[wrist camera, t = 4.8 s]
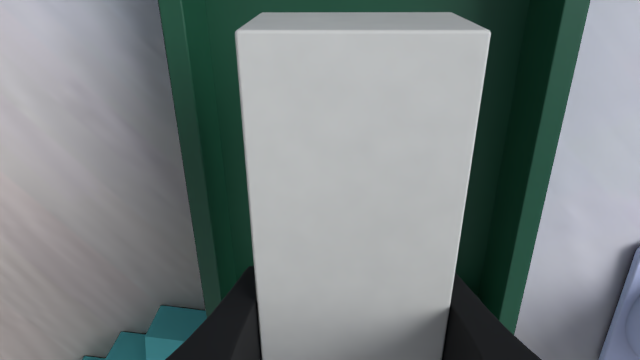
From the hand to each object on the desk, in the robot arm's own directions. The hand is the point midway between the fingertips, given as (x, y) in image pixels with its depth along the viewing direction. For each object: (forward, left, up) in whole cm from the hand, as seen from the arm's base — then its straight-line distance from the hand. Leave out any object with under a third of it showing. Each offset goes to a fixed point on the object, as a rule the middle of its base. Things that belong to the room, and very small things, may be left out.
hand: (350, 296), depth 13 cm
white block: (0, 0, -1) cm, 1 cm away
